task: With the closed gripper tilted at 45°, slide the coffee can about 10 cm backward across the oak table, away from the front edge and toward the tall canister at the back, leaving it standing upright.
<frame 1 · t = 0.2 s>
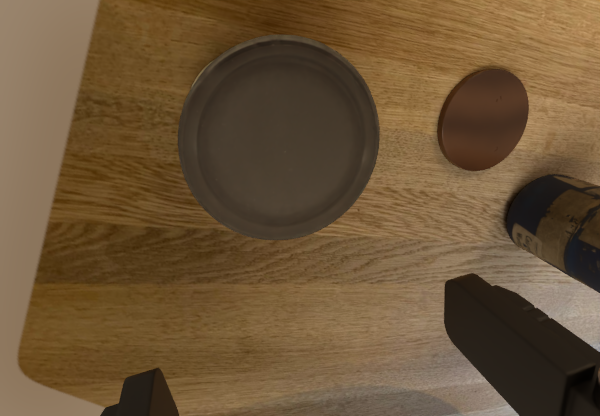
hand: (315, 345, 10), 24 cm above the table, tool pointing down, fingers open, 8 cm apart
canister: (532, 208, 43), on the table
coffee can: (249, 114, 31), on the table
dark brown wooden coaster: (480, 121, 37), on the table
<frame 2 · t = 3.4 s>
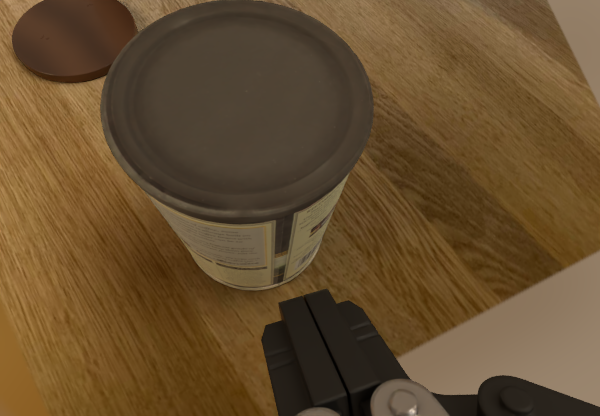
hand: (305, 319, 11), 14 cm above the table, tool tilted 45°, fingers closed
coffee can: (254, 222, 27), on the table
dark brown wooden coaster: (79, 38, 32), on the table
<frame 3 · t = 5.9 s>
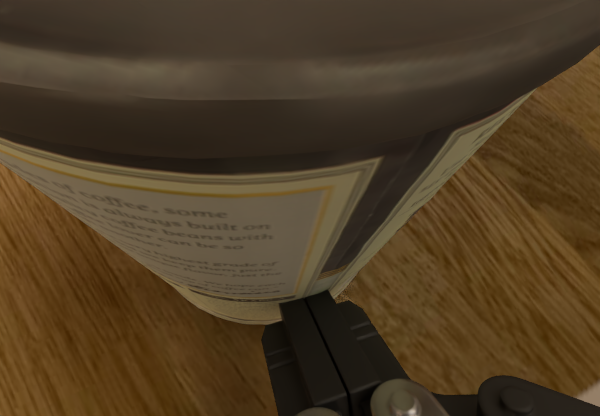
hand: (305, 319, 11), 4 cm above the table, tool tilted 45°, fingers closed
coffee can: (262, 212, 17), on the table, touching gripper
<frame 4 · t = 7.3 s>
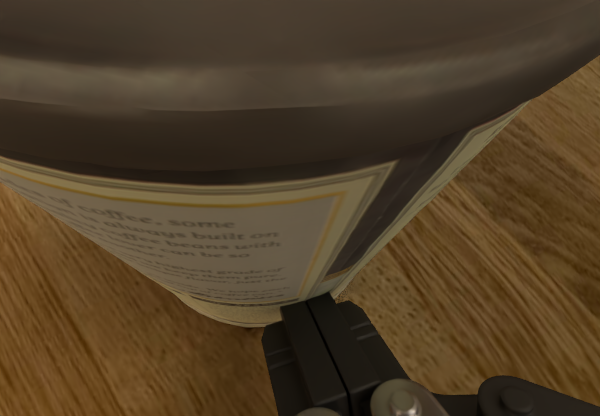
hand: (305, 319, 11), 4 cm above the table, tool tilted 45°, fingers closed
coffee can: (259, 213, 17), on the table, touching gripper
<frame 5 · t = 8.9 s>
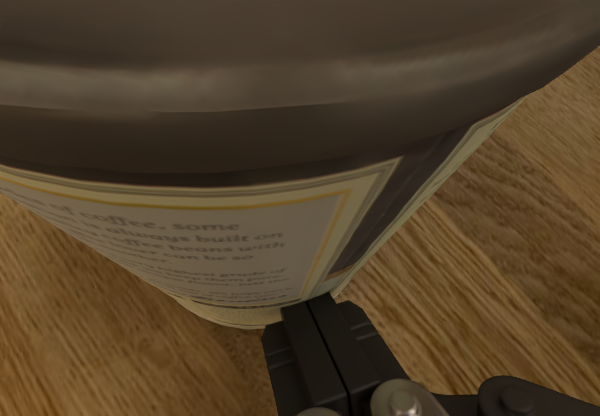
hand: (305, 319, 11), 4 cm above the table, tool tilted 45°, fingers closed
coffee can: (257, 215, 17), on the table, touching gripper
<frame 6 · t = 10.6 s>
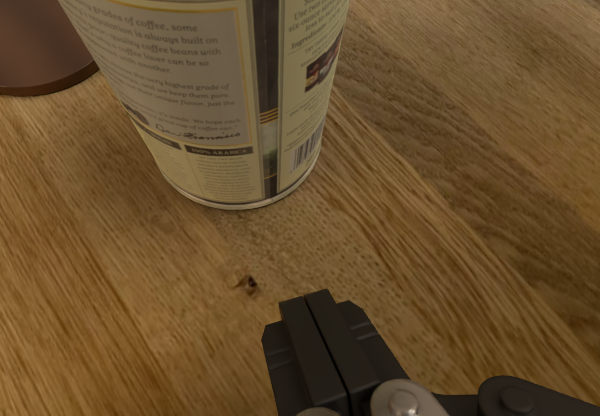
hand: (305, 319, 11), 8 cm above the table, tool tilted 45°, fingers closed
coffee can: (237, 136, 22), on the table
dark brown wooden coaster: (41, 36, 24), on the table
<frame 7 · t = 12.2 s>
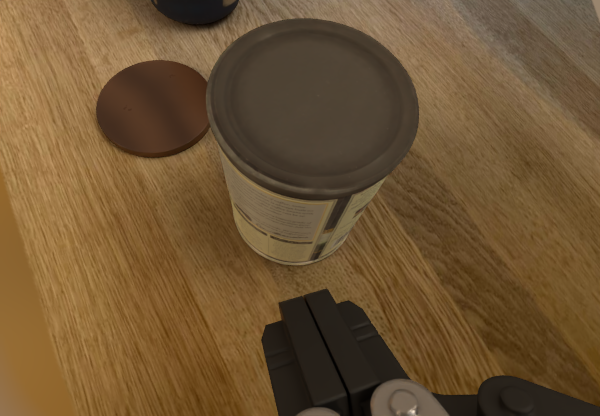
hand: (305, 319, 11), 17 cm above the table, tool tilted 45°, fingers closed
canister: (197, 0, 38), on the table
coffee can: (293, 207, 30), on the table
dark brown wooden coaster: (158, 109, 33), on the table
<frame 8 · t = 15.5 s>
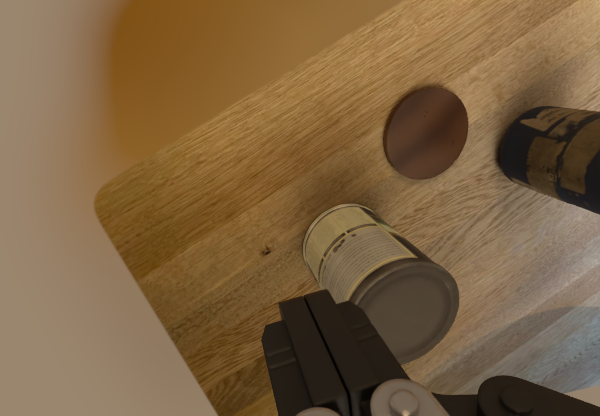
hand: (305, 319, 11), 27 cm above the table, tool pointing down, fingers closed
canister: (524, 144, 44), on the table
coffee can: (343, 242, 43), on the table
dark brown wooden coaster: (424, 134, 40), on the table
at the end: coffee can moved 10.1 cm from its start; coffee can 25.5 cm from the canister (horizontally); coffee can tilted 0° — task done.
